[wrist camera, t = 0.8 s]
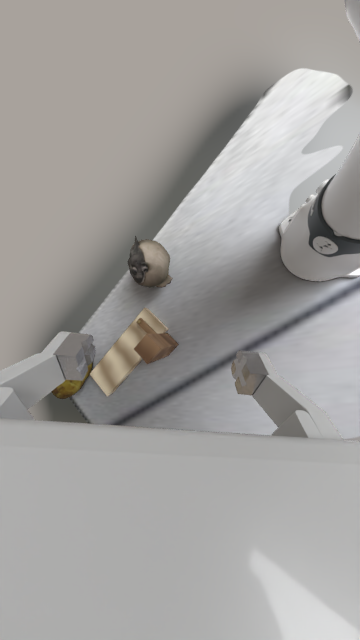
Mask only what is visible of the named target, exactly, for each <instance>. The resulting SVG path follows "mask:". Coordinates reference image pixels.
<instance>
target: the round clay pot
mask: <svg viewBox="0 0 360 640" xmlns="http://www.w3.org/2000/svg"><path fill="white" fill-rule="evenodd" d="M169 263H170V256H169V254H168V253H167V251H166V250H165V248H164V247H163V246H162V245H161V244H160V243H158V242H156V241H152V240H147V239H146V240H141V241H139V242H138V241H137V238H135V244H134V245H133V246H132V248H131V252H130V258H129V260H128V265H129V269H130V274H131V275H132V276H133V278H134V280H135V281H136V283H138V284H139V285H142V286H146V287H155V286H156V287H165V286H166V284H169V283H170V282H171V280H172V279H173V278H171V277H170V276H169V275H168V271H169V269H168V268H169Z"/></svg>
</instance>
